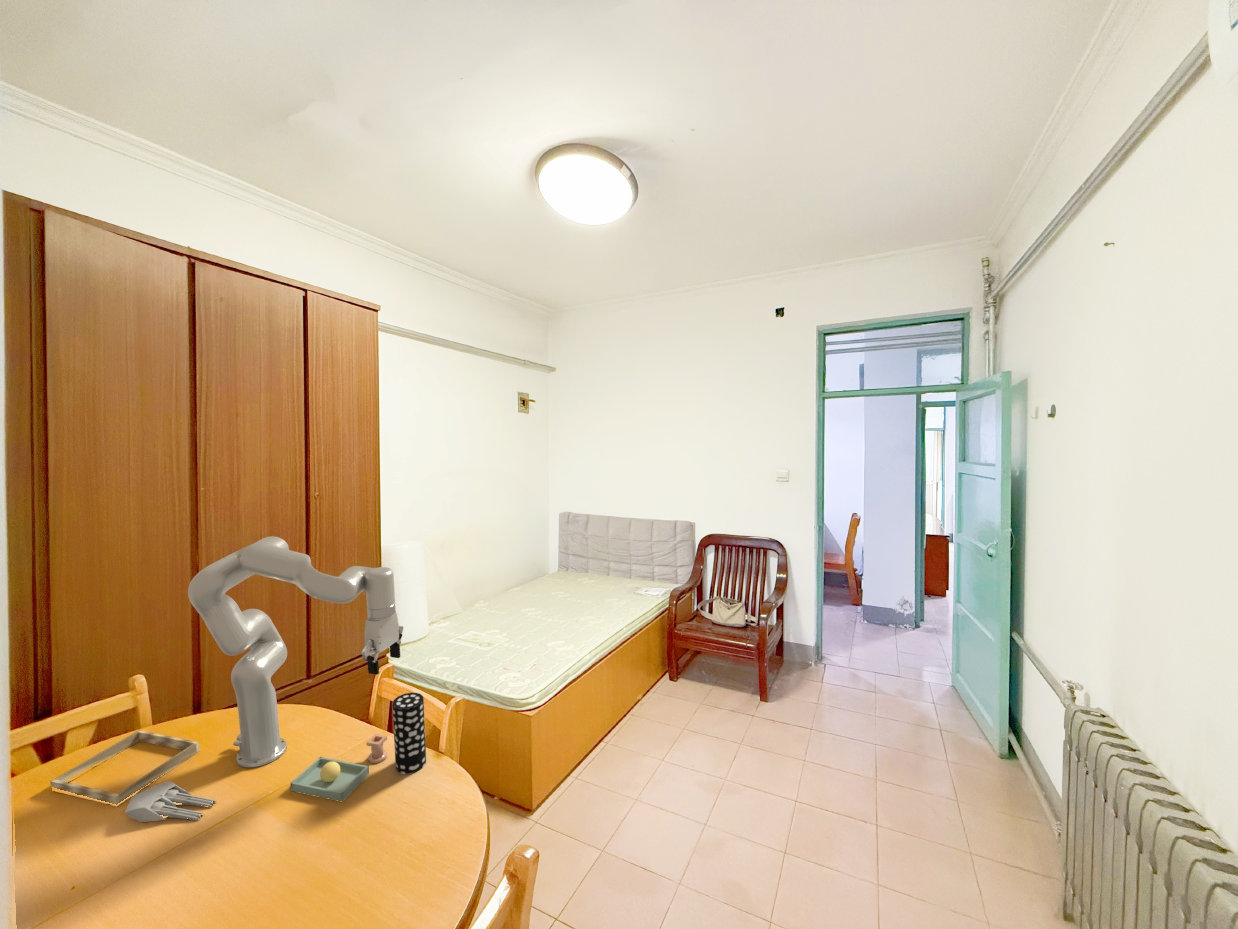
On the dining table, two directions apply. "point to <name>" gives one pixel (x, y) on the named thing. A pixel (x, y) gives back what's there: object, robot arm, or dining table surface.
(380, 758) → the egg cup
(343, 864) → the dining table surface
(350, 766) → the tray
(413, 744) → the white-spotted black cylinder
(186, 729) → the dining table surface
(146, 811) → the turret
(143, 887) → the dining table surface
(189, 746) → the frame
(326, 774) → the ball
